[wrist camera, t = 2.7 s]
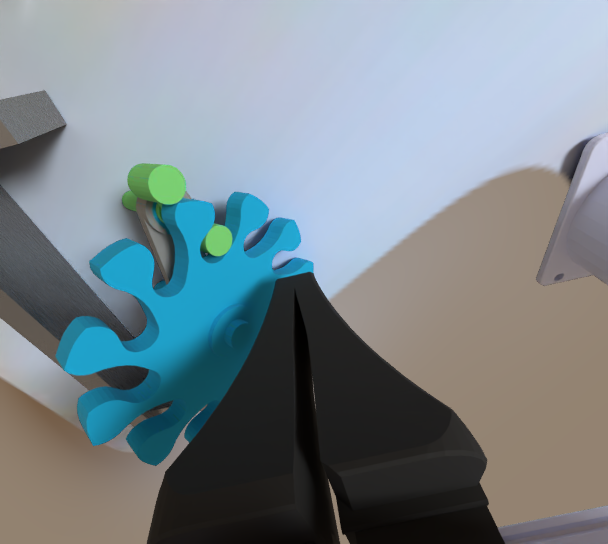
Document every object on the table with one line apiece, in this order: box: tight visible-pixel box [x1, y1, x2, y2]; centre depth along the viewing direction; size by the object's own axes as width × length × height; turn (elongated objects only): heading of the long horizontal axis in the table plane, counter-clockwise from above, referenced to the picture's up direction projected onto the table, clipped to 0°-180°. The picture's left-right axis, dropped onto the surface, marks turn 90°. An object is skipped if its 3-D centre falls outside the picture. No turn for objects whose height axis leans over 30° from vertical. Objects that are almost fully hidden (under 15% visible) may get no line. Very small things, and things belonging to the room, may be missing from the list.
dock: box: [0, 90, 207, 427], centre depth 13 cm, size 4×16×3 cm, turn 12°
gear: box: [55, 164, 313, 466], centre depth 12 cm, size 11×6×10 cm
